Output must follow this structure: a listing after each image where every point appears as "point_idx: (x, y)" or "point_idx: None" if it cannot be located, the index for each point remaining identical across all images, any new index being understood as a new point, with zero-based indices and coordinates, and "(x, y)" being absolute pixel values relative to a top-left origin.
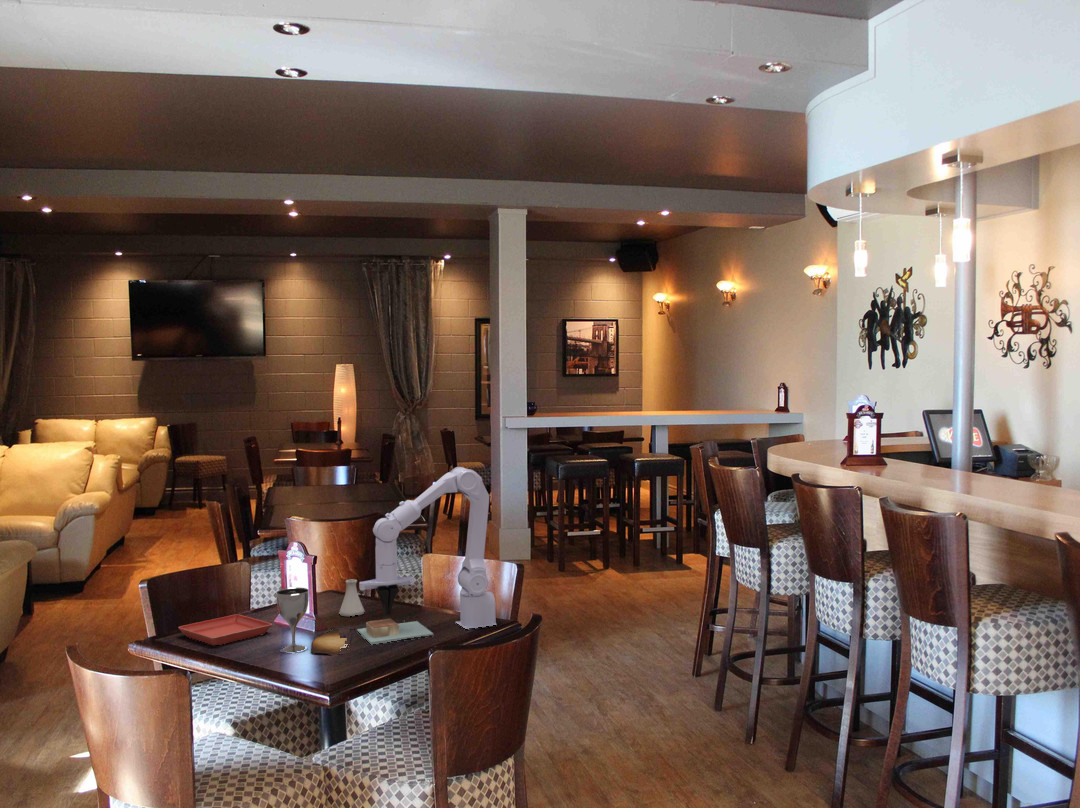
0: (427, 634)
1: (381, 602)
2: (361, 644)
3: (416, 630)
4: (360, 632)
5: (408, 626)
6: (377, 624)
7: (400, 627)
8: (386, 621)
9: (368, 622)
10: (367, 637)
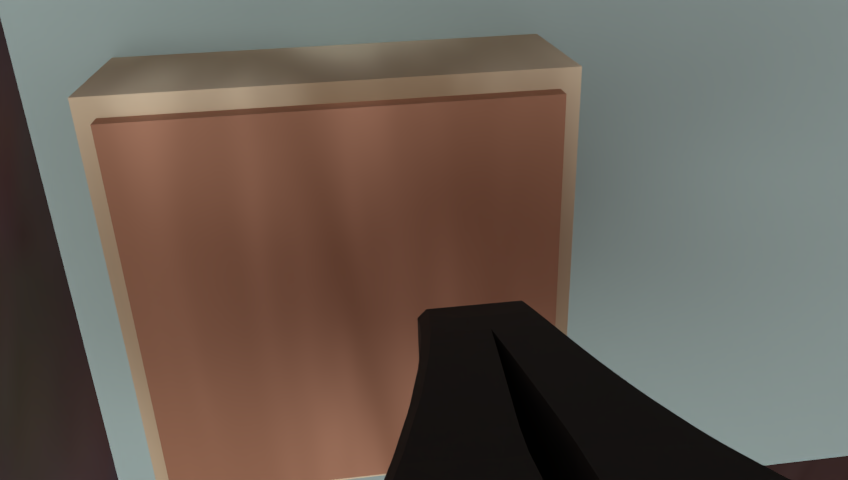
0: (804, 459)
1: (399, 446)
2: (28, 449)
3: (781, 286)
4: (8, 47)
5: (791, 44)
6: (251, 377)
7: (671, 45)
8: (438, 259)
9: (105, 192)
10: (106, 357)
